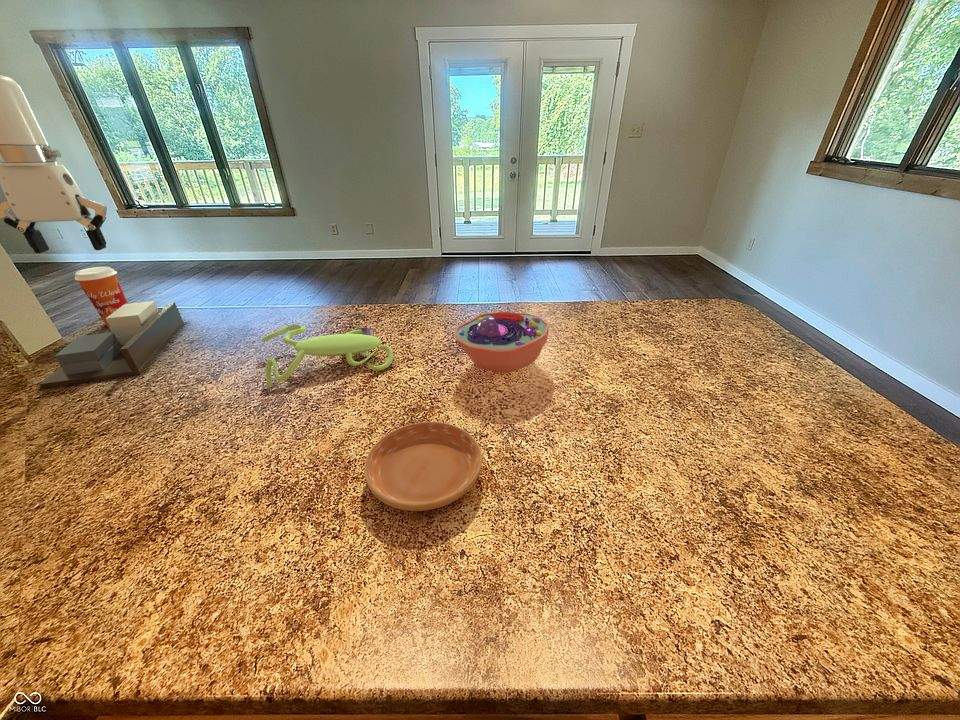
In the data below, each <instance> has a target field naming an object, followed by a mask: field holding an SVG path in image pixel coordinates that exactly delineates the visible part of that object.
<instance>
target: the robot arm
mask: <svg viewBox="0 0 960 720" xmlns="http://www.w3.org/2000/svg"><path fill="white" fill-rule="evenodd" d="M59 158H60V159H61V158H62V153H61V151H59V149H53V148H51V145H49V144H48V142H47V140H46V138H45V136H44V134H43V131H42V129H41V127H40V125H39V123H38V121H37V118H36V116H35V114H34V113H33V110H32V109H31V106H30V104H29V102H28V99H27V98H26V96H25V94H24V91H23V90H22V88H21V86H20V85H19V83H17V81H15V79H13V78H11V77H9V76H6V75H1V74H0V187H1V189H2V191H3V194H4V196H5V198H6V199H5V200H4V201H2V202H1V203H0V219H1V220H3V222H4V223H5V224H6V225H8V226H10V227H12V228H14V229H16V231H17V232H18V233H20V234H23V236H24V238H25V239H26V241H27V243H28V245H29V246H30V248H31V249H32V250H33V251H34V253H35V254H41V253H45V252H47V251H49V250H50V247H49V245H48V244H47V242H46V239H45V238H44V235H43V234H42V232H41V231H40V230H39V229H36V226H37V225H38V223H53V222H54V223H55V222H73V221H76V222H77V223H79V224H80V225H82V226H83V227H84V228H86V229H87V230H85V233H86V235H87V237H88V239H89V241H90V244H91V245H92V247H93V250H94V251H101V250H104V249H106V248H107V240H106V238H105V236H104V234H103V232H102V229H101V228H102V227H103V225H104V222H105V221H106V219H107V217H106V216H107V210H108V207H107V206H106V205H105V204H103V203H100V202H97V201H94V200H92V199H88V198H86V197H85V196H84V193H82V191H81V189H80V187H79V185H78V184H77V182H76V181H75V179H74V177H73V176H72V175H71V173H70V172H69V171H68V169H67V168H66V166H65V165H64V164H58V163H57V160H58V159H59ZM91 209H92V210H93V211H94V217H92V215H93V214H92V210H91ZM11 210H12V212H13V213H14V215H15V216H13V215H12V214H11V213H10V211H11Z"/></svg>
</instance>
